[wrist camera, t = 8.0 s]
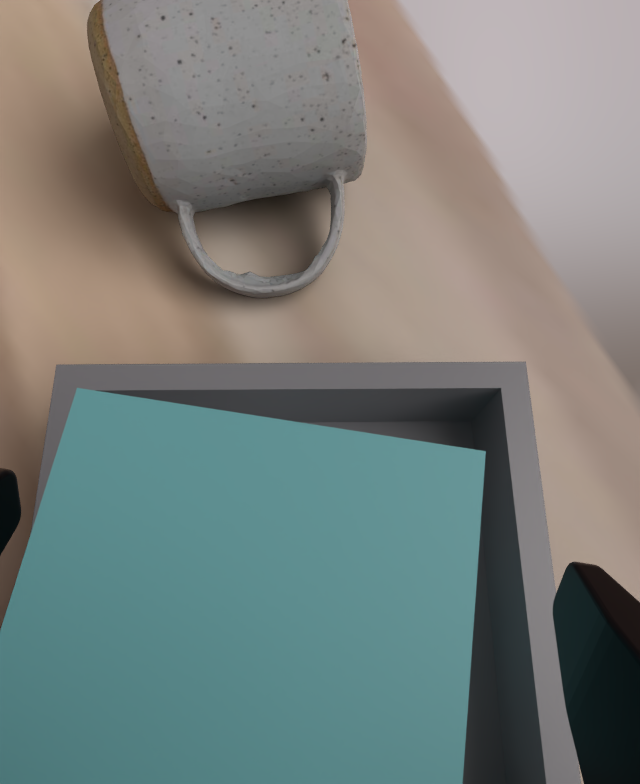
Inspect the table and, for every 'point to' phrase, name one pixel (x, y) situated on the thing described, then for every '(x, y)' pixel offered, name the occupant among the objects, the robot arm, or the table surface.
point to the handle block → (241, 604)
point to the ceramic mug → (233, 108)
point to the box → (498, 518)
